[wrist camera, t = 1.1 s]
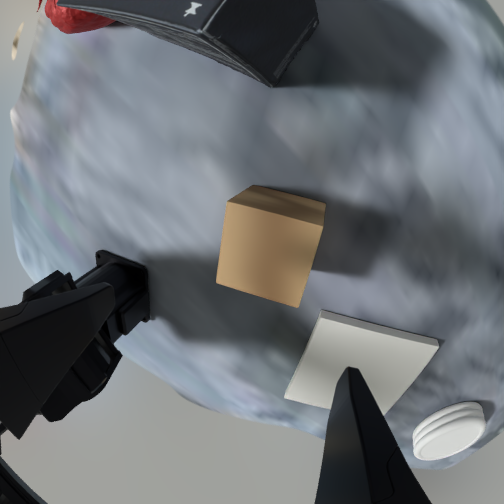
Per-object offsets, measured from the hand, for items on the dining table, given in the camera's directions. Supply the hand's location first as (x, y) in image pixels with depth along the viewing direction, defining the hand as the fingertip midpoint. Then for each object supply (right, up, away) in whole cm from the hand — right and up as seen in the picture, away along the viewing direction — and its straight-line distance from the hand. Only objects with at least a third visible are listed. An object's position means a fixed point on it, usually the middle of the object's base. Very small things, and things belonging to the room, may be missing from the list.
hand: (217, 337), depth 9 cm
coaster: (+26, -18, +14) cm, 35 cm away
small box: (0, +19, +5) cm, 19 cm away
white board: (+11, -8, +13) cm, 19 cm away
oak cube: (+3, +5, +10) cm, 12 cm away
